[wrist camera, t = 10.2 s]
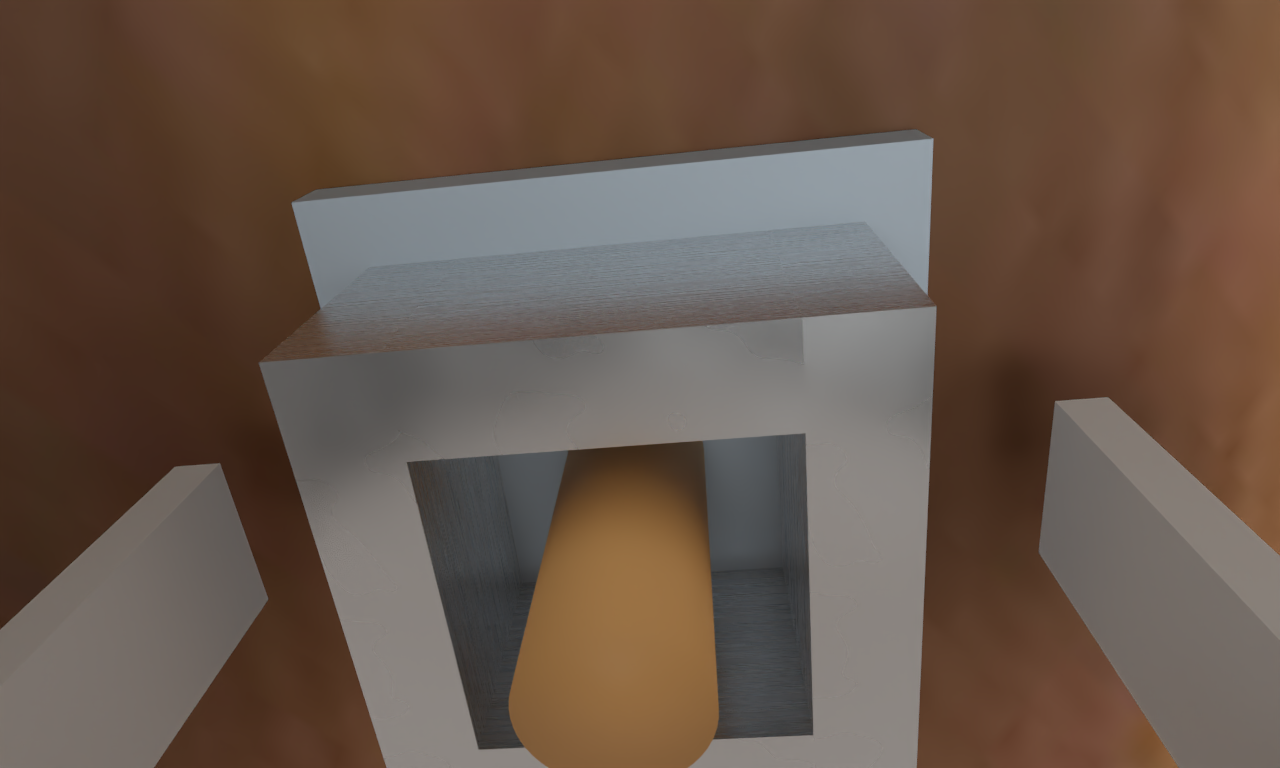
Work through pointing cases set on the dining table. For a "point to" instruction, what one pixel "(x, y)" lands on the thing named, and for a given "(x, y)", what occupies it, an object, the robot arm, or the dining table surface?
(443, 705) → the gray square frame
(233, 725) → the dining table surface
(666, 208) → the keeper
